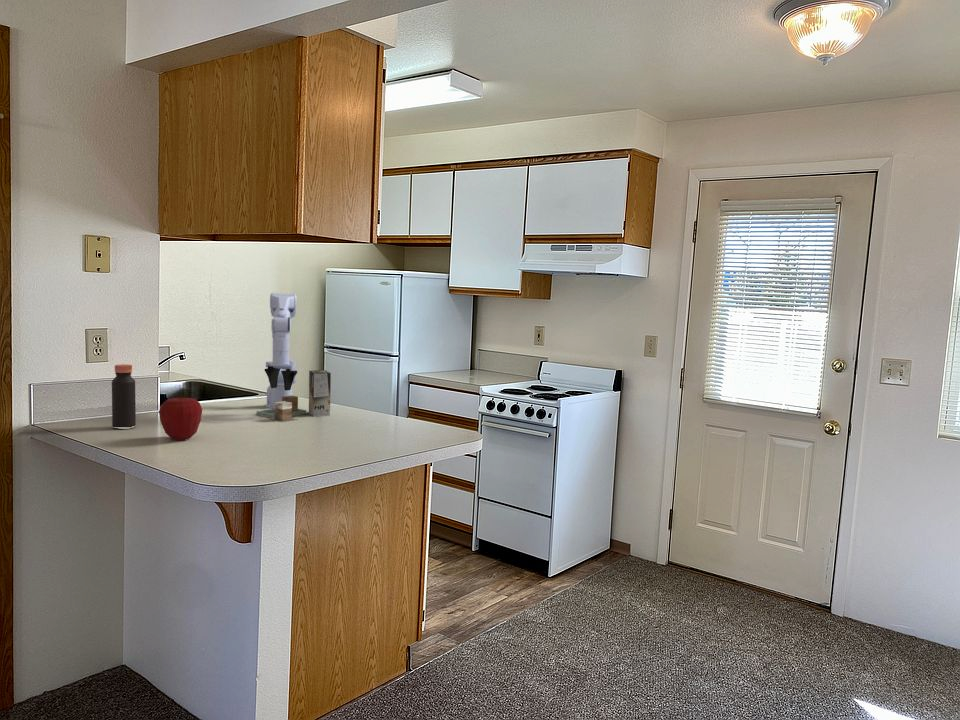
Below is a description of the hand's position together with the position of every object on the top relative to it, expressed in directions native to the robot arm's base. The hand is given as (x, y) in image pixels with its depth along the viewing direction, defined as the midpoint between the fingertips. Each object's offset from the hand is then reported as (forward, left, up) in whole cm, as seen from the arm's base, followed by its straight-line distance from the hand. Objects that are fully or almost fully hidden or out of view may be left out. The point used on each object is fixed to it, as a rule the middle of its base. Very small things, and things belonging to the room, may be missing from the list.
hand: (280, 389), depth 261 cm
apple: (+10, -45, -10) cm, 47 cm away
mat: (+7, -4, -10) cm, 13 cm away
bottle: (-17, -48, -10) cm, 52 cm away
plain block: (-2, +6, -10) cm, 11 cm away
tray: (-2, +2, -10) cm, 10 cm away
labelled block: (+7, -4, -10) cm, 13 cm away
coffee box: (+7, +12, -10) cm, 17 cm away
